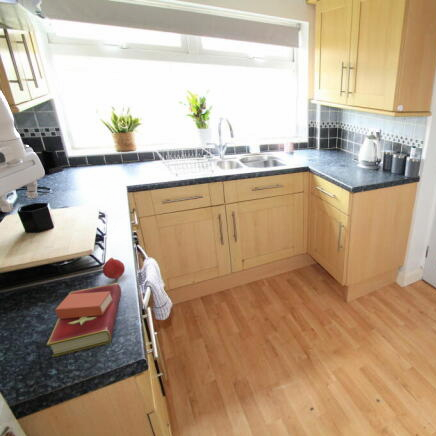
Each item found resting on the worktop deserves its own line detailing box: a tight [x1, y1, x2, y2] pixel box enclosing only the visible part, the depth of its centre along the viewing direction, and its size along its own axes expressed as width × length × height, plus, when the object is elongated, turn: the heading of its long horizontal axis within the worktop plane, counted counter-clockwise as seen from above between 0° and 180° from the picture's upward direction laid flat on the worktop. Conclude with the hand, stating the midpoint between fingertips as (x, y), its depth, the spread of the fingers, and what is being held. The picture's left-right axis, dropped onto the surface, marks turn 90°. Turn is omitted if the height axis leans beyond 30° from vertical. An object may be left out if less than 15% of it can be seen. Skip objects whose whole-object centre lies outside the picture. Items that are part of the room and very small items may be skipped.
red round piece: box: [102, 256, 126, 280], centre depth 101 cm, size 6×6×8 cm
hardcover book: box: [46, 282, 122, 358], centre depth 85 cm, size 12×21×4 cm, turn 25°
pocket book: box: [54, 291, 113, 319], centre depth 83 cm, size 10×6×3 cm, turn 100°
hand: (21, 203), depth 83 cm, fingers open, 8 cm apart
